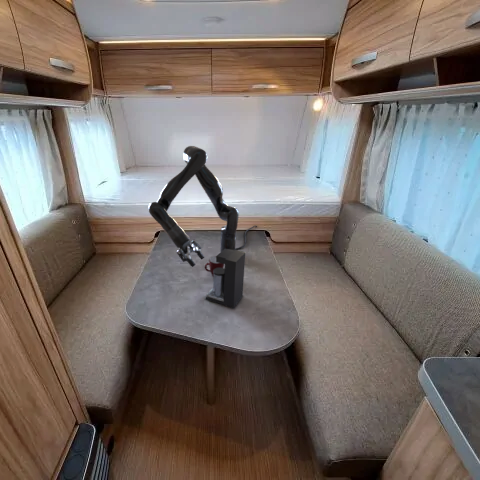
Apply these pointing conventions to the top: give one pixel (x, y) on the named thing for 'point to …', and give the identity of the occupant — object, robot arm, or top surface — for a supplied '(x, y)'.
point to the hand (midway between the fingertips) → (198, 262)
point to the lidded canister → (218, 282)
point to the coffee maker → (230, 277)
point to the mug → (213, 265)
